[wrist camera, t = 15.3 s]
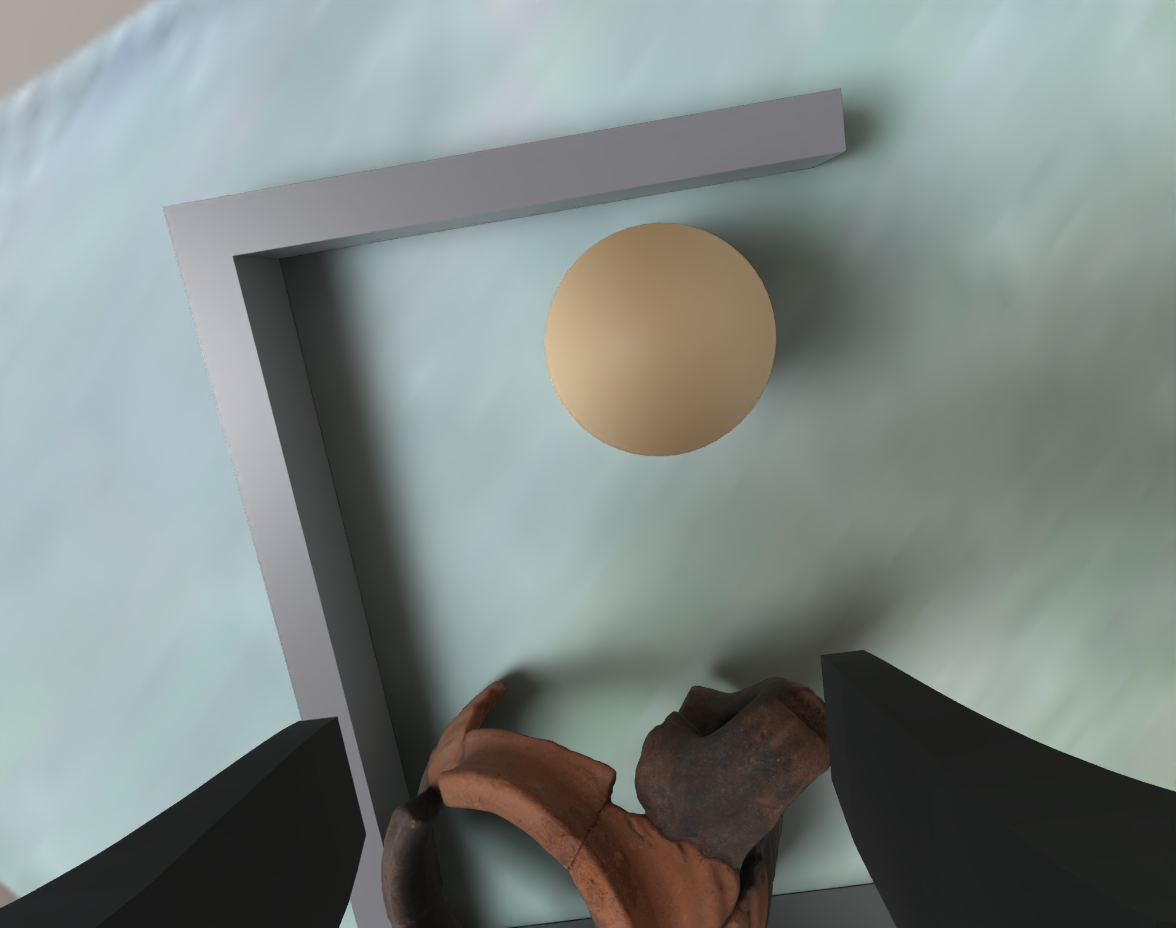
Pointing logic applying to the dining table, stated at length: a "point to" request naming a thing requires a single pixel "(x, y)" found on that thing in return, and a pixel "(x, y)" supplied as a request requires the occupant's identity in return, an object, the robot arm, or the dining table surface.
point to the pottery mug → (611, 834)
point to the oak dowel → (660, 339)
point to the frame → (289, 420)
